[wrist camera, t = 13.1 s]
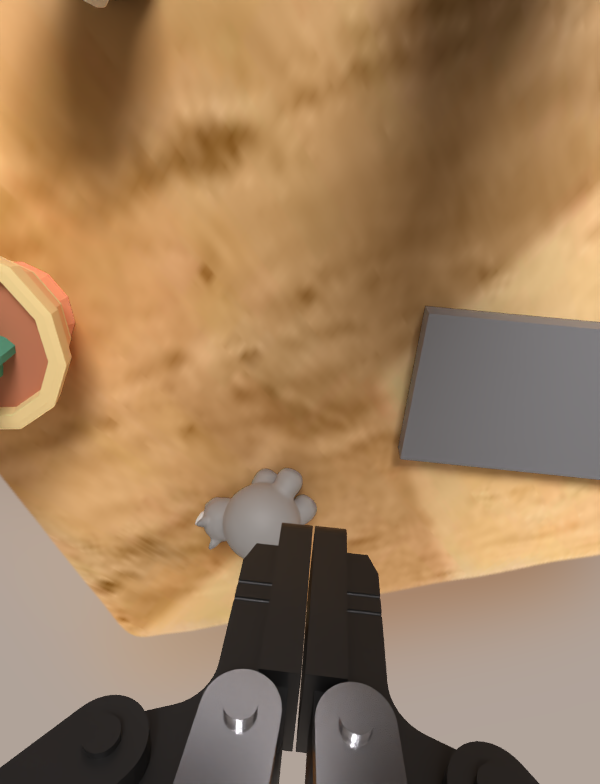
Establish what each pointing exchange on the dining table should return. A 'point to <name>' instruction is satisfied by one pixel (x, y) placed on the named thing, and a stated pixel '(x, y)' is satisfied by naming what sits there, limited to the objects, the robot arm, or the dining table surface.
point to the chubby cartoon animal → (257, 511)
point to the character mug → (98, 3)
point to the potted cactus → (31, 343)
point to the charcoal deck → (505, 393)
